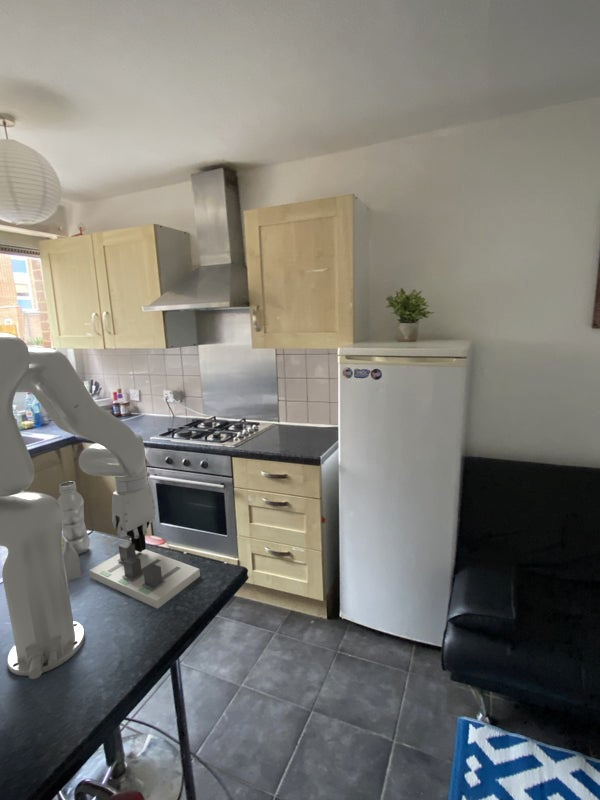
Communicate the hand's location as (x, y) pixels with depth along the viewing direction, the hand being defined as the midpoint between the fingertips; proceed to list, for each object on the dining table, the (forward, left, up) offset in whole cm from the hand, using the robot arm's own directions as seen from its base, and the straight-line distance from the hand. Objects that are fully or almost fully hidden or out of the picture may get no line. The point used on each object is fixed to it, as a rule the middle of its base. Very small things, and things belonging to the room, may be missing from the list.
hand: (139, 549), depth 106 cm
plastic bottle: (+14, +14, -3) cm, 20 cm away
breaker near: (-16, -1, -1) cm, 16 cm away
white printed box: (+4, +16, -4) cm, 17 cm away
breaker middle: (-10, +3, -1) cm, 10 cm away
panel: (-8, 0, -3) cm, 9 cm away
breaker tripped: (-2, +3, -1) cm, 4 cm away
